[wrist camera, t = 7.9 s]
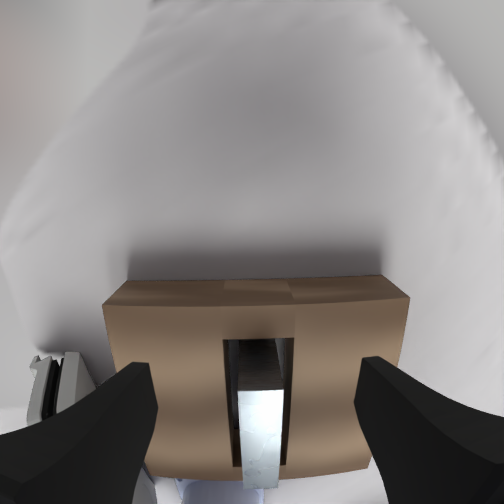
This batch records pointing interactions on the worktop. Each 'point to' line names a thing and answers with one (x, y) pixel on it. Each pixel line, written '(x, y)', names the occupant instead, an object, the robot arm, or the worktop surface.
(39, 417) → the grey arched slab
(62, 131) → the worktop surface
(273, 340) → the grey flat-faced block
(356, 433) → the slotted tan panel
